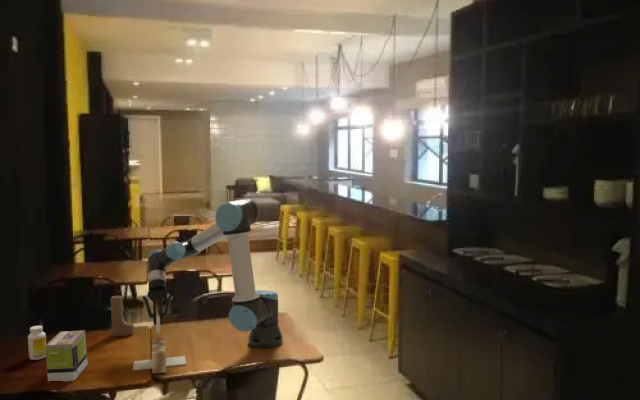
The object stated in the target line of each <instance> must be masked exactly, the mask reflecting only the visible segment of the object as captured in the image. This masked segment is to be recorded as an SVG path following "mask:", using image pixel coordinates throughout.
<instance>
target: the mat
mask: <svg viewBox="0 0 640 400" xmlns="http://www.w3.org/2000/svg"><path fill="white" fill-rule="evenodd" d="M186 363H187V362H186V356H185V355H183V356H172V357H166V368H169V367H178V366H186V365H187V364H186ZM151 369H152V358H151V359H144V360H134V361H133V367H132V371H142V370H151Z"/></svg>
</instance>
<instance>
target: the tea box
mask: <svg viewBox="0 0 640 400" xmlns="http://www.w3.org/2000/svg"><path fill="white" fill-rule="evenodd" d="M45 352H46V357H45V361H46V373H47V374H46V376H47V382H48V383H50V382H49V381H63V382H74V381H75V380H76V379H77V378H78V377H79V375H80V374H81V373H82V372H83V371H84V370H85V368H86V367H87V366H88V364H89V363H88V354H87V341H86V330H85V329H84V330H70V331H68V330H67V331H59V332H58V333H57V334H56V335H55V336H53V338H51V340H49V341H48V343H47V342H46V345H45Z"/></svg>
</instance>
